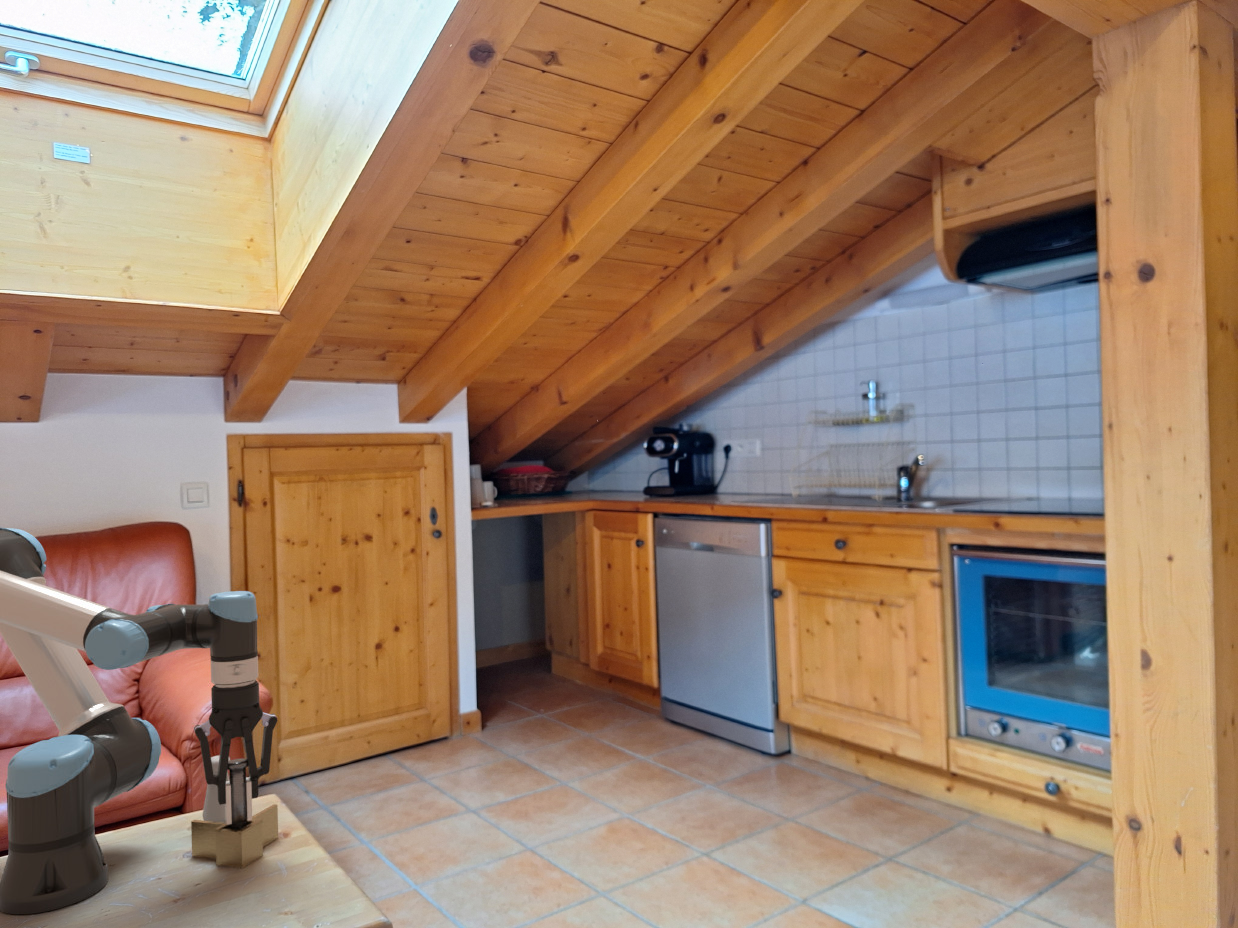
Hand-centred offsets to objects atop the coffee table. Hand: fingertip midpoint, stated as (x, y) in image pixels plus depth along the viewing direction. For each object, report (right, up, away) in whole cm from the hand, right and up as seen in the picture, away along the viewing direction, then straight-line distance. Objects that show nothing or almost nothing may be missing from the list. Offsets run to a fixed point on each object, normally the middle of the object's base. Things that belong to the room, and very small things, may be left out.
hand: (238, 819), depth 152 cm
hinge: (-2, -7, +4) cm, 9 cm away
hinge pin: (0, -3, 0) cm, 3 cm away
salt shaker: (-10, -8, +15) cm, 20 cm away
